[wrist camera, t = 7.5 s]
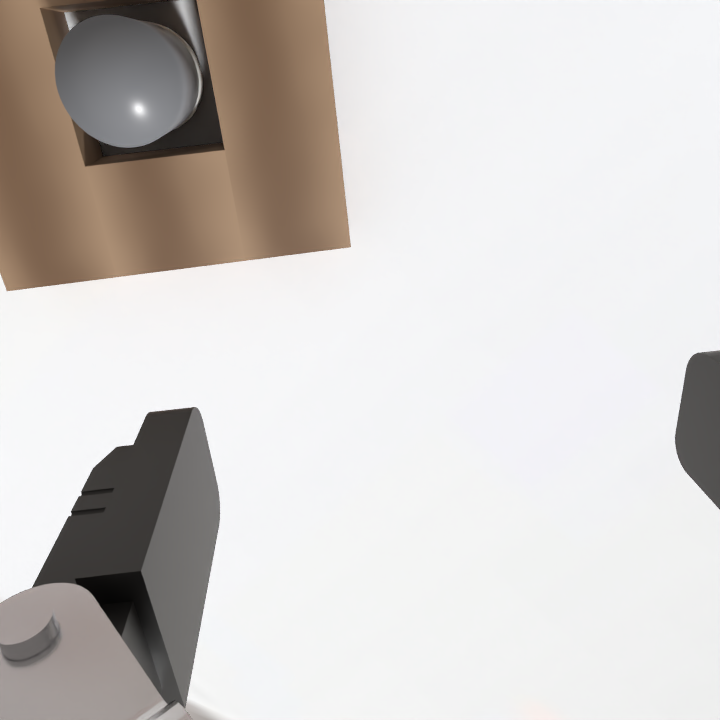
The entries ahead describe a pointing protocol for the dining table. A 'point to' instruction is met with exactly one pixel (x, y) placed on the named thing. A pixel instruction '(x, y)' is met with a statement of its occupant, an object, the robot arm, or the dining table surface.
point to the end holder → (171, 154)
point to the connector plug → (127, 79)
